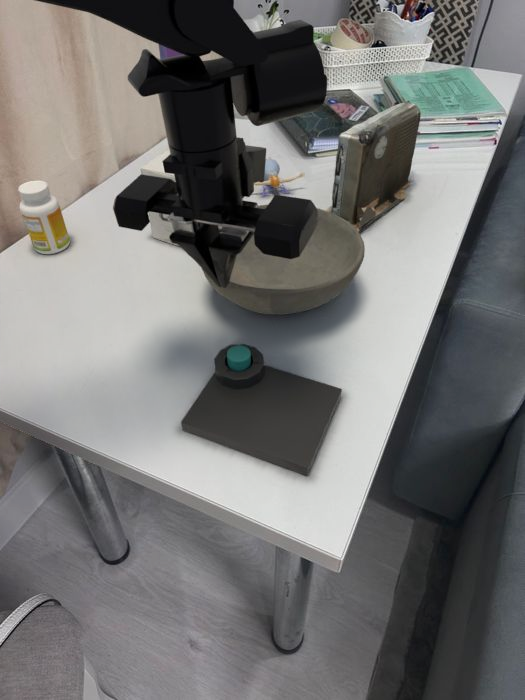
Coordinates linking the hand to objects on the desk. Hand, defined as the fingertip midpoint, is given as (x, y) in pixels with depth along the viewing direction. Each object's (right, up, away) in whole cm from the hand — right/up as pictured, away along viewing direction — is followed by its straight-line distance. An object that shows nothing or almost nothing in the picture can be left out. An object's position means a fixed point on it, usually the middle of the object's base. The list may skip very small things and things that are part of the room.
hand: (223, 285), depth 54 cm
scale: (+4, -14, +2) cm, 14 cm away
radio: (+22, +19, +36) cm, 46 cm away
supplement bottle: (-28, +9, +26) cm, 39 cm away
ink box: (-8, +12, +28) cm, 32 cm away
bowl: (+6, +1, +17) cm, 19 cm away
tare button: (+1, -8, +4) cm, 9 cm away
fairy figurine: (+5, +24, +40) cm, 47 cm away
